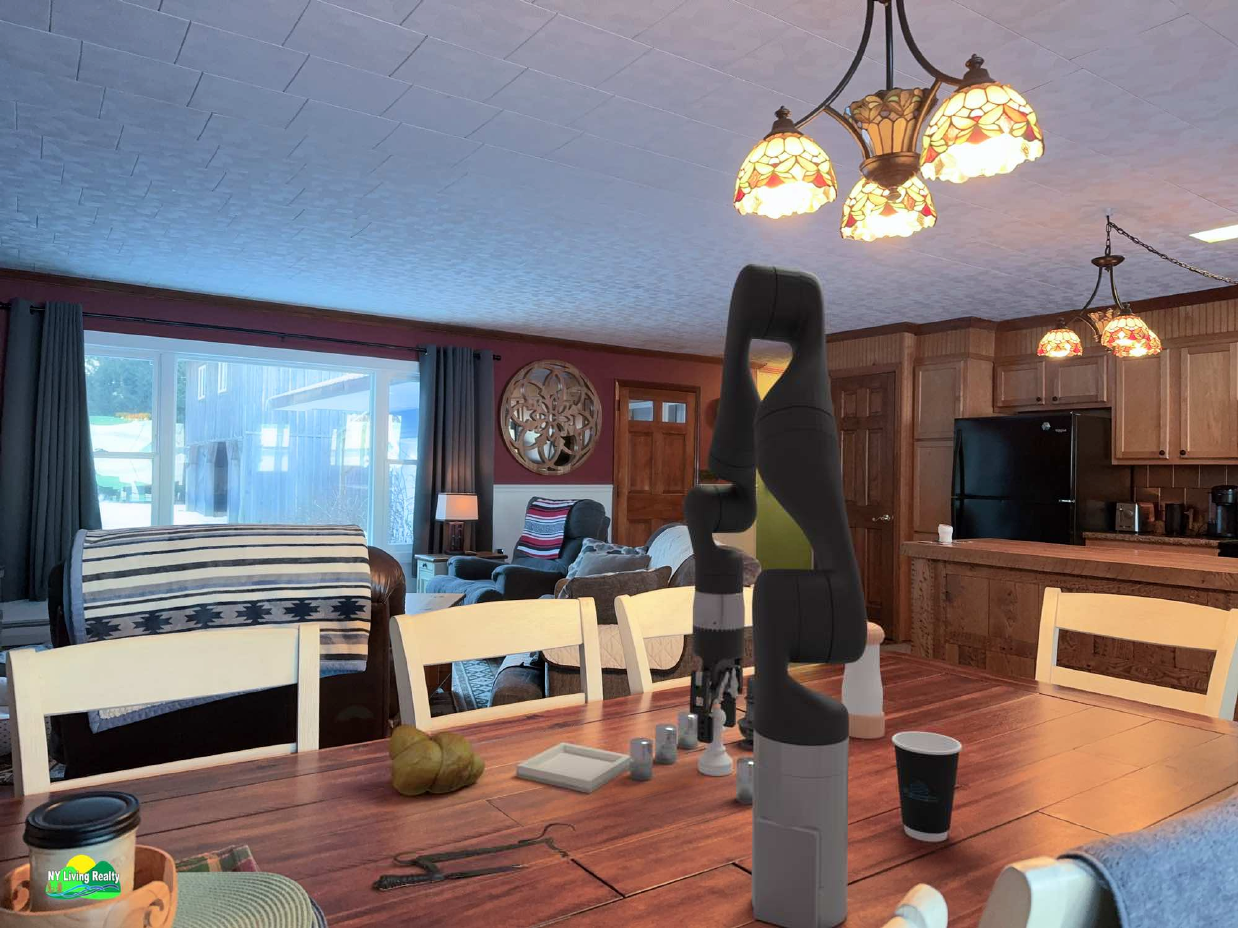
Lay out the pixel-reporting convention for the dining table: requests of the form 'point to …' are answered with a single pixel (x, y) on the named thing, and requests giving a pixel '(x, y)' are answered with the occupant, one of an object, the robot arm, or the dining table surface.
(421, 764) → the bread roll
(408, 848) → the dining table surface
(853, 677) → the pepper shaker
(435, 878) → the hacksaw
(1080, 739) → the dining table surface
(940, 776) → the dixie cup
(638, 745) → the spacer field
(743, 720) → the grey chess piece
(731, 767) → the chess pawn
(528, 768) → the square tray
